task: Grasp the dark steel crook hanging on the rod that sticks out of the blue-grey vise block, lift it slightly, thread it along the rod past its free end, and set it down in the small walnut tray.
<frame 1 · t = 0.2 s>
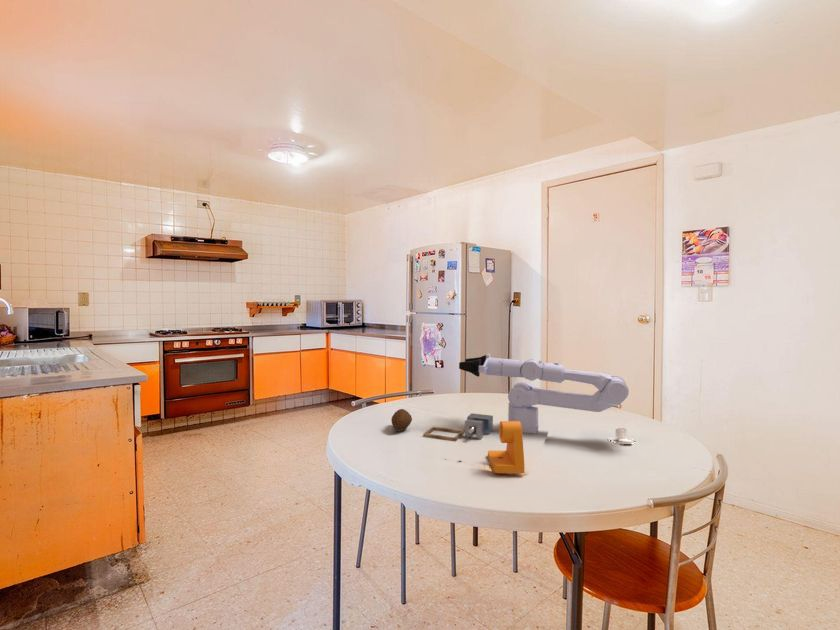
hand: (462, 363, 148), 21 cm above the table, tool horizontal, fingers open, 7 cm apart
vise: (479, 435, 138), on the table
bracket: (504, 468, 111), on the table
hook: (473, 437, 132), point 1 cm above the table, touching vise
tray: (444, 439, 134), on the table
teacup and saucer: (613, 443, 133), on the table
potato: (401, 430, 144), on the table
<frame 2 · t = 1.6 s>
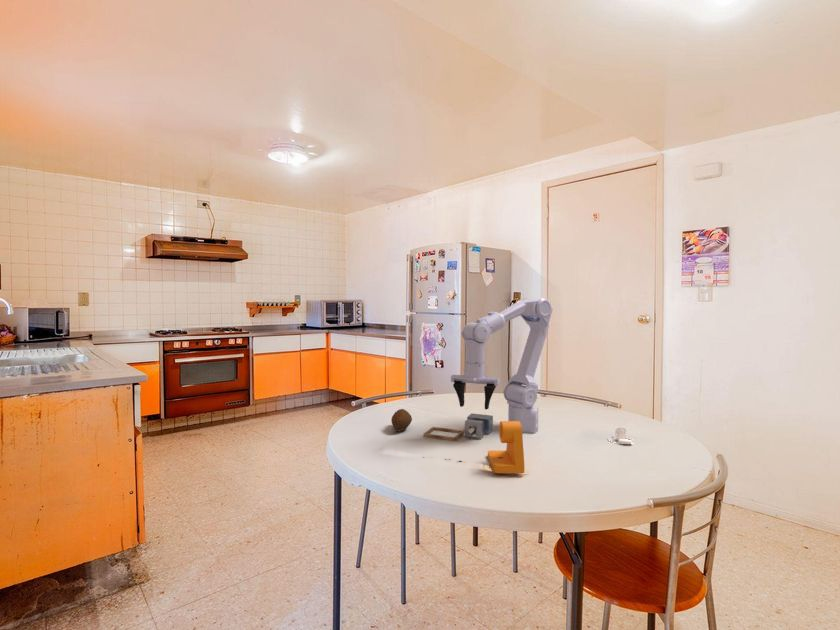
hand: (474, 407, 132), 10 cm above the table, tool pointing down, fingers open, 7 cm apart
nothing on the table moved.
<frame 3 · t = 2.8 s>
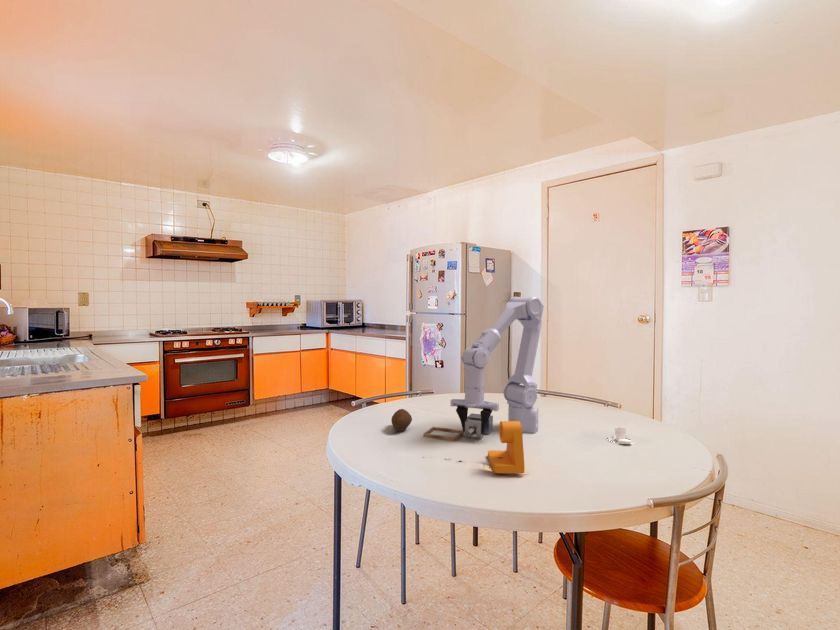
hand: (473, 432, 132), 3 cm above the table, tool pointing down, fingers closed on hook, 5 cm apart
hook: (473, 437, 132), point 1 cm above the table, touching gripper, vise
everything else where it was.
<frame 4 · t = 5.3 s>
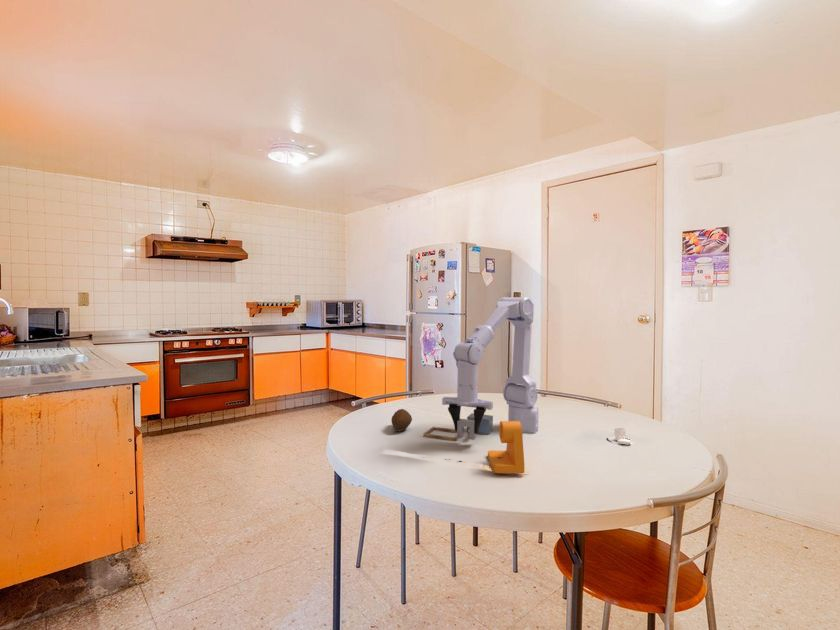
hand: (466, 431, 125), 5 cm above the table, tool pointing down, fingers closed on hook, 5 cm apart
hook: (466, 437, 125), point 3 cm above the table, touching gripper
everything else where it was.
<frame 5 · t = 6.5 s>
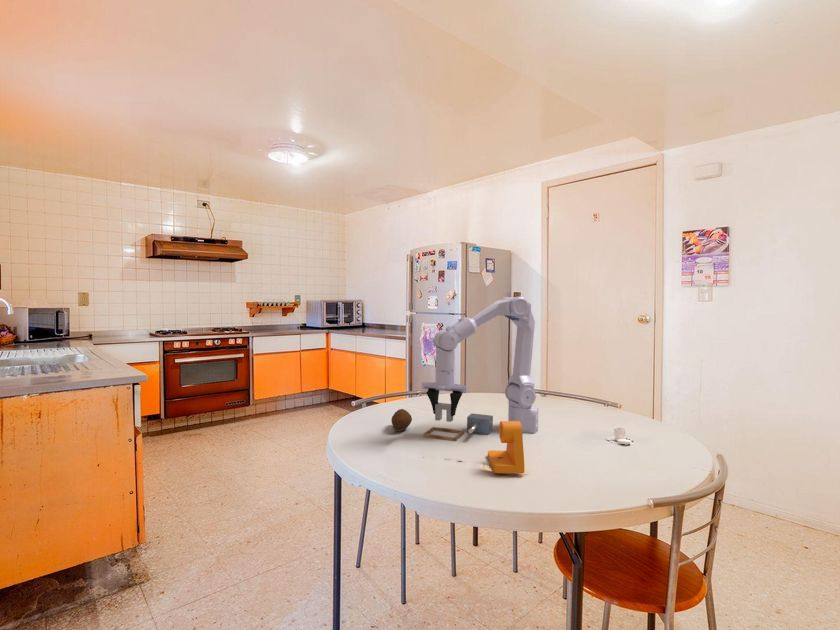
hand: (444, 414, 134), 8 cm above the table, tool pointing down, fingers closed on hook, 5 cm apart
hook: (444, 420, 134), point 6 cm above the table, touching gripper
everything else where it was.
when the fingers open (3 cm above the table, at t = 7.7 s): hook stays where it is, resting on tray.
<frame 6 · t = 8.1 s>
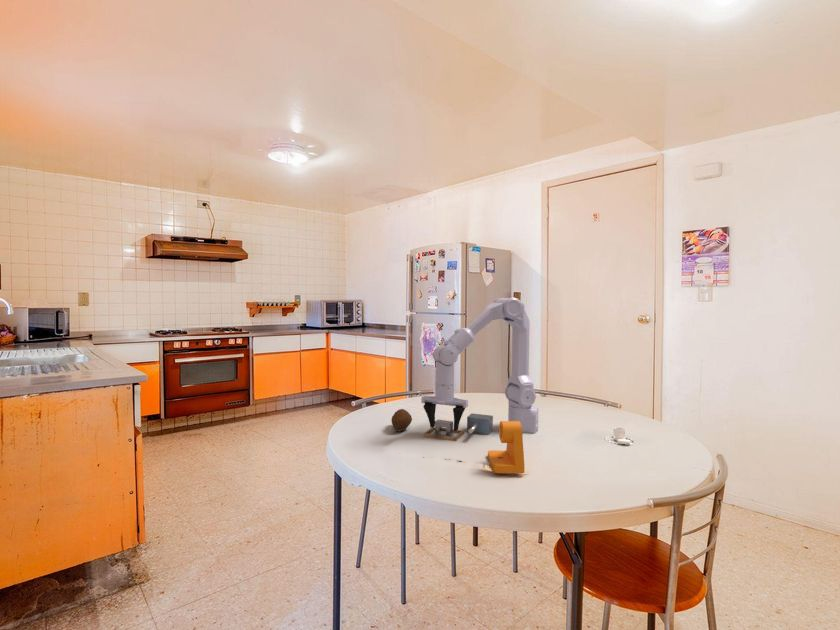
hand: (444, 428, 134), 3 cm above the table, tool pointing down, fingers open, 7 cm apart
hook: (443, 437, 134), point 1 cm above the table, touching tray
everything else where it was.
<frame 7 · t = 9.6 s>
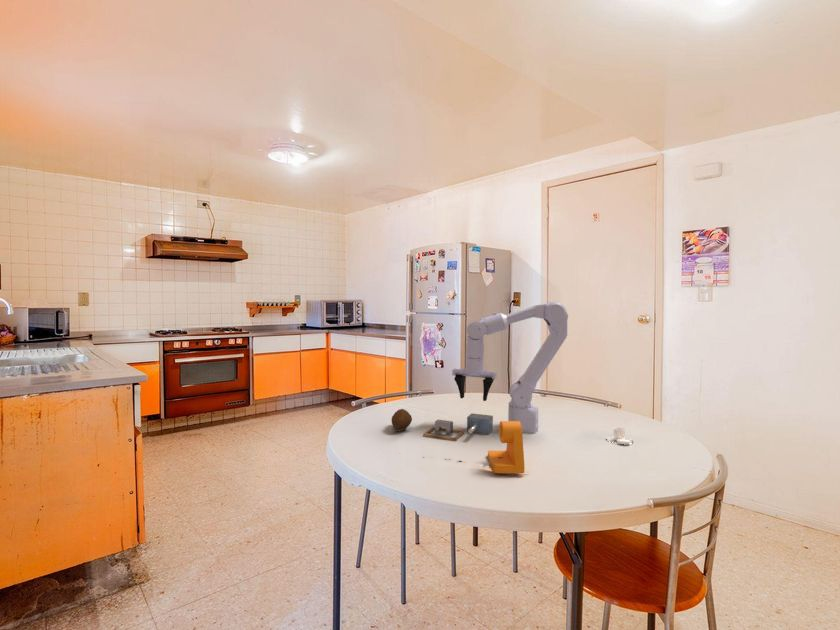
hand: (473, 399, 143), 10 cm above the table, tool pointing down, fingers open, 7 cm apart
nothing on the table moved.
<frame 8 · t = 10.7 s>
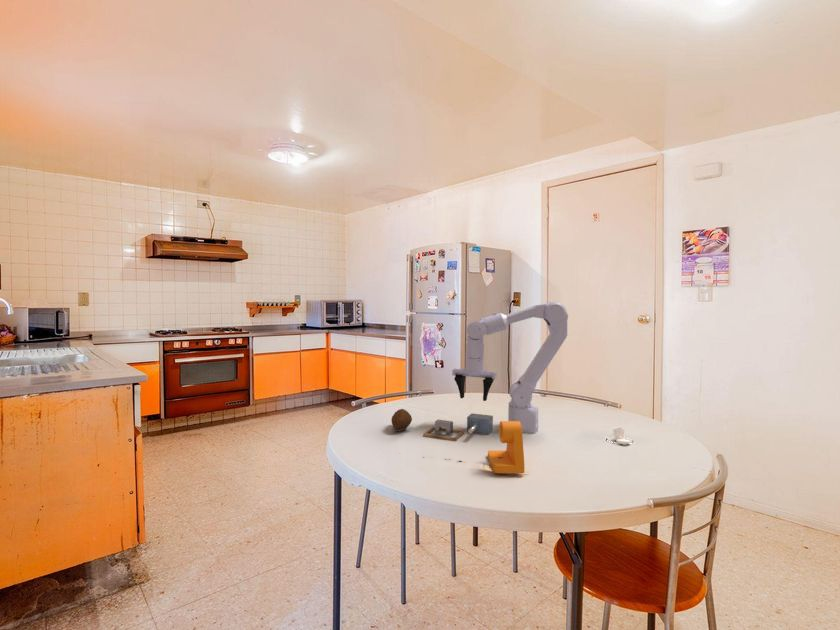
hand: (473, 399, 143), 10 cm above the table, tool pointing down, fingers open, 7 cm apart
nothing on the table moved.
at the end: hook inside the target area on the tray (0.1 cm from its centre), point 0.6 cm above the tray's base; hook touching tray; the gripper is holding nothing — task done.
